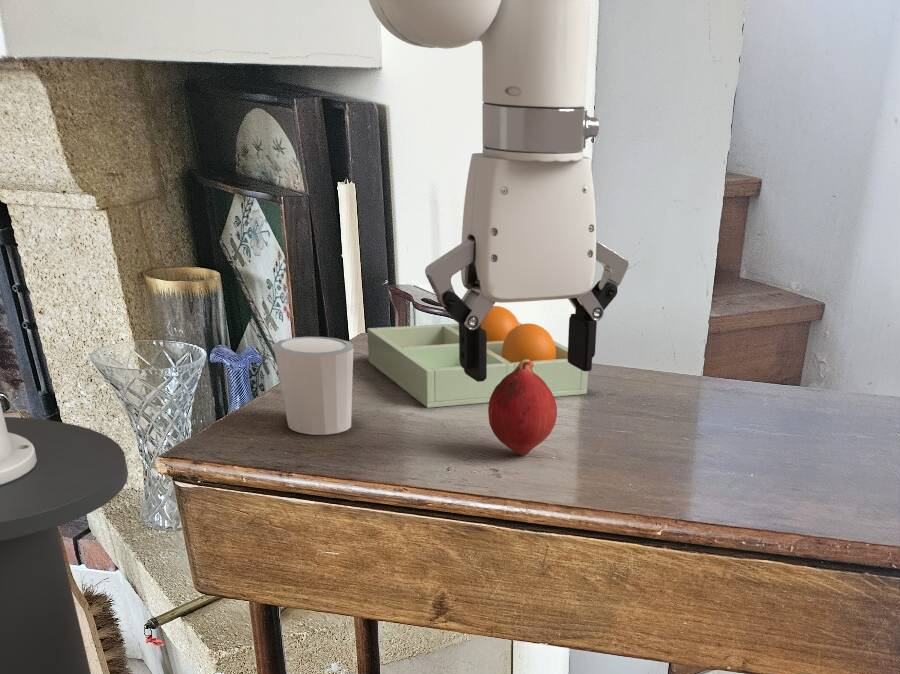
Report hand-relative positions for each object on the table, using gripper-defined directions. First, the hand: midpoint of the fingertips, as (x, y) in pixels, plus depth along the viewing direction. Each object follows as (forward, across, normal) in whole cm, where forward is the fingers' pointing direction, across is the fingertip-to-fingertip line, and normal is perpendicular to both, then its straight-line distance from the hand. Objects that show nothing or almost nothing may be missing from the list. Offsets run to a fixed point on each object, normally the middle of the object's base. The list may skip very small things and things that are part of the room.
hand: (528, 372), depth 86 cm
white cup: (+7, +14, -13) cm, 21 cm away
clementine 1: (+7, -10, -28) cm, 31 cm away
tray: (+7, -6, -24) cm, 26 cm away
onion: (+7, 0, 0) cm, 7 cm away
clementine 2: (+7, -10, -20) cm, 23 cm away
